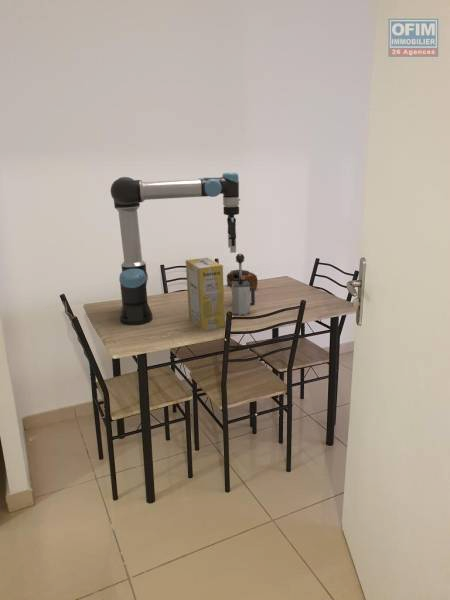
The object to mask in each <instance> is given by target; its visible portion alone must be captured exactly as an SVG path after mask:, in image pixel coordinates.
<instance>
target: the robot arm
mask: <svg viewBox="0 0 450 600" xmlns="http://www.w3.org/2000/svg"><path fill="white" fill-rule="evenodd" d="M239 189H240V182H239V174H238V172H223V174H222V177H199V178H198V179H185V180H183V179H182V180H163V181H161V180H158V181H157V180H156V181H142V180H141V179H133V178H131V177H130V176H129V177H128V176H123V177H119V178H118V179H116V180H114V181H113V182H112V183H111V186H110V196H111V199H113V204H114V205H113V206H114V209H115V210H117V212H118V218H119V227H120V235H121V236H120V237H121V244H122V246H121V247H122V255H123V262H122V264H120V265H121V272H120V273H119V279H118V280H119V284H120V294H121V296H120V297H121V304H122V305H121V310H120V314H119V321H120V323H121V324H122V323H123V324H122V325H128V326H138V325H144V324H147V323H149V322H152V321H153V313H152V310H151V307H150V306H149V303H148V293H147V292H148V291H147V284H148V279H149V274H148V272H147V264H146V263H147V262H145V261H144V260H143V256H142V246H141V238H140V237H141V236H140V227H139V218H138V217H139V215H138V209H139V208H140V207H141V205H140V203H143V202H144V201H145V200H148V201H149V200H162V199H163V200H164V199H165V200H166V199H180V198H181V199H184V198H201V197H202V198H203V197H211V198H214V197H217V196H219V195H220V194H222V205H223V209H222V210H223V215H225V216H227V218H226V222H227V245H228V247H227V248H230V249H229V252H230V254H232V253H237V232H236V229H237V228H236V226H237V223H236V222H237V219H236V217H235V216H237V215H239V214H240V206H239V205H240V201H241V199H240V198H239V197H240V190H239Z"/></svg>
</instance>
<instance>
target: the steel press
mask: <svg viewBox="0 0 450 600" xmlns="http://www.w3.org/2000/svg"><path fill="white" fill-rule="evenodd" d="M250 290H251V291H250ZM255 291H256V290H255V288H254V287H250V284H249V282H248V281H247V280H245V281H242V283H241V284H239V281H232V287H231V301H232V302H231V306H232V311H231V312H232V315H234V316H242V317H243V316H247V315H251V306H256V304H255V303H256V301H255V300H256V299H255Z"/></svg>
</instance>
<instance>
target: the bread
mask: <svg viewBox="0 0 450 600" xmlns="http://www.w3.org/2000/svg"><path fill="white" fill-rule="evenodd" d="M236 270H237V269H233V270H230V271H229V272H228V273H227V275H226V282H227V283H226V284H227V286H228V285H229V286H228V287H230V286H231V288H232V281H233V280H235V279H237V280H239V277H238V278H233V277H232V273H231V272H232V271H236ZM242 279H244V280H248V281H249V284H250V287H254V288H255V291H256V290H257V288H258V275H256V274H255V273H253V272H251V271H249V273H248V276H247V275H242ZM250 292H251V290H250Z"/></svg>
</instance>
